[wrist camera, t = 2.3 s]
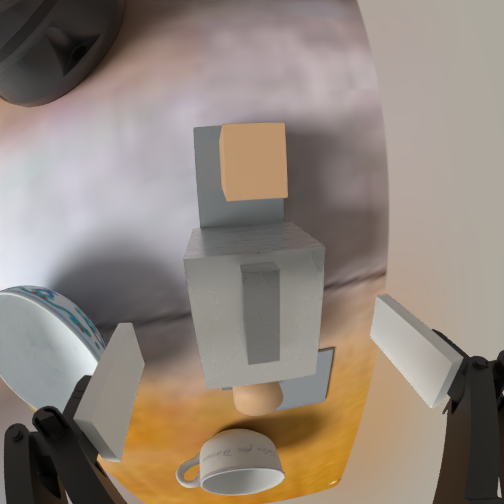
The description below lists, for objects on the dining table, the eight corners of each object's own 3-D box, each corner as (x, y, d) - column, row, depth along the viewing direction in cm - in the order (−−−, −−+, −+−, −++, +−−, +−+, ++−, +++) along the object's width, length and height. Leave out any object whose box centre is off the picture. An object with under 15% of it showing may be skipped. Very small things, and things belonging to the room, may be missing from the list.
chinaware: (5, 257, 20) (-38, 285, 13) (119, 260, 23) (85, 300, 15) (39, 367, 25) (15, 406, 18) (141, 384, 27) (130, 435, 20)
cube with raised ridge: (192, 228, 18) (181, 267, 11) (291, 221, 18) (333, 253, 12) (206, 332, 20) (207, 401, 14) (290, 323, 21) (320, 384, 14)
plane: (197, 136, 20) (180, 103, 9) (266, 132, 21) (320, 101, 10) (219, 356, 27) (228, 454, 16) (272, 350, 28) (303, 442, 16)
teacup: (279, 416, 31) (293, 464, 24) (269, 454, 35) (278, 494, 27) (171, 417, 29) (168, 468, 22) (180, 456, 32) (179, 497, 25)
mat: (251, 360, 28) (252, 362, 27) (332, 347, 29) (333, 349, 28) (255, 411, 30) (255, 413, 30) (323, 399, 31) (324, 401, 31)
